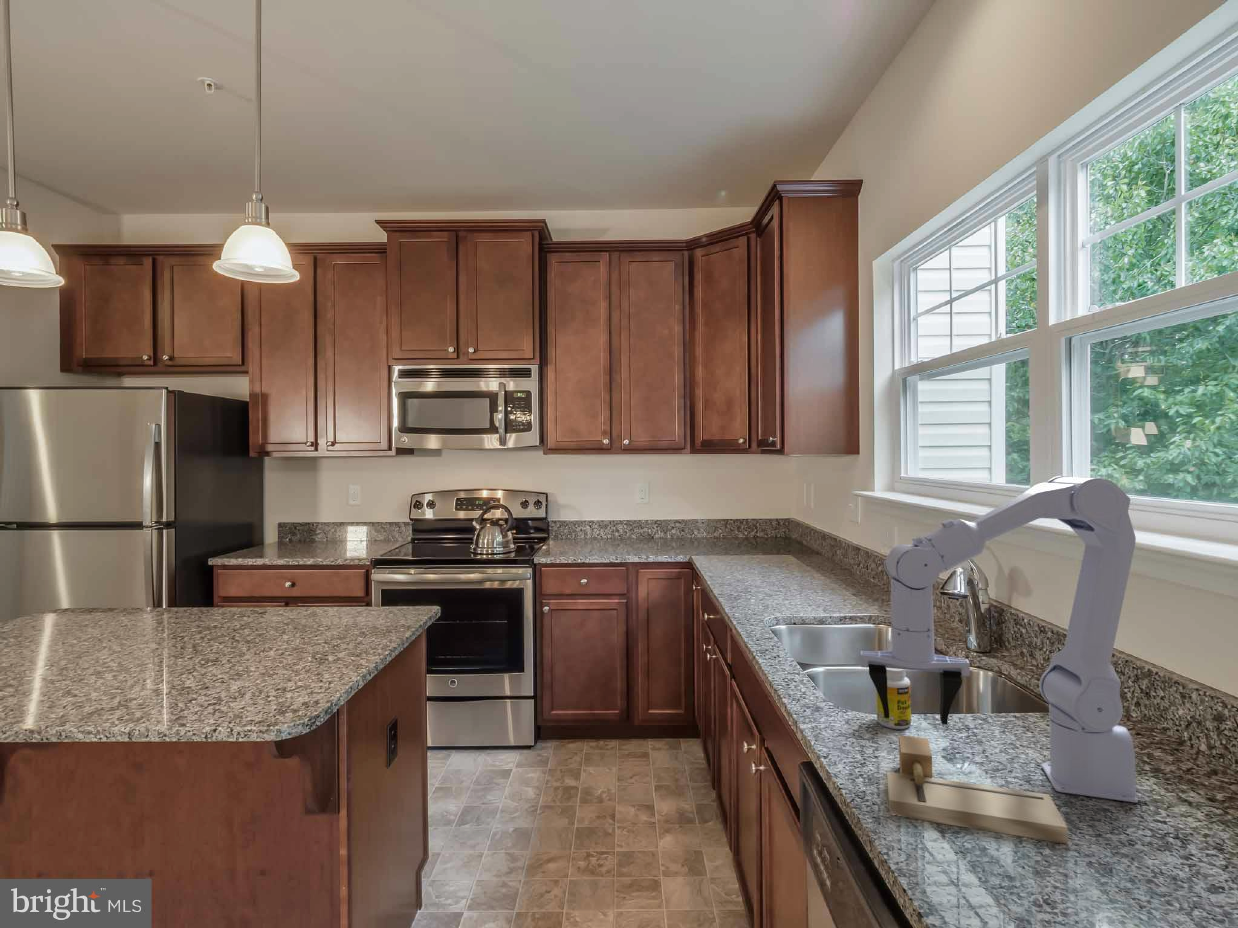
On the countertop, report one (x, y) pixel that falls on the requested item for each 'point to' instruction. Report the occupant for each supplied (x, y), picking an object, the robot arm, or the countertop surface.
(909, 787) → the maple board
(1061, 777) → the robot arm
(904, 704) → the supplement bottle
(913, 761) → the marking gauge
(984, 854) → the countertop surface
